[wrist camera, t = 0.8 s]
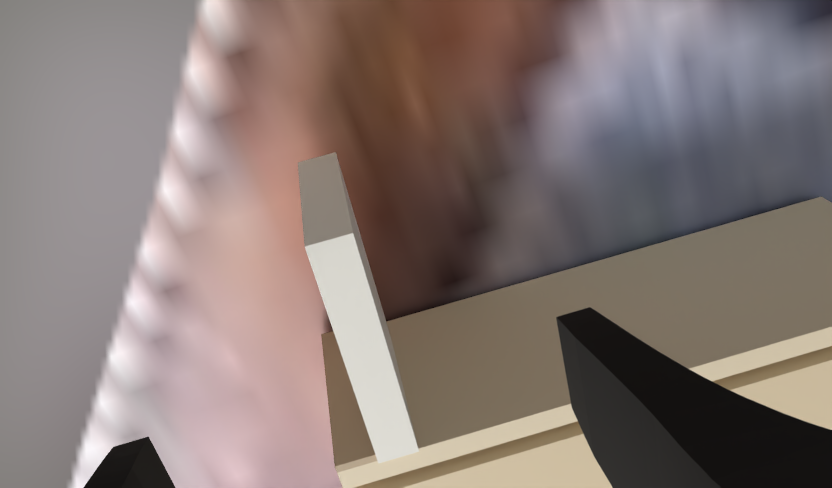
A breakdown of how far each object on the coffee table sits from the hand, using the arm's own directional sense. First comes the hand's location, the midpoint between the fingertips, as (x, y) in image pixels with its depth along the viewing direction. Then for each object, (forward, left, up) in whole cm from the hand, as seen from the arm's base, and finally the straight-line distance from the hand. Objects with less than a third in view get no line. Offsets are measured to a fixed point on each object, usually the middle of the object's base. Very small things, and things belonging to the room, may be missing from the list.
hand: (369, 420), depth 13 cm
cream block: (-7, +1, -9) cm, 11 cm away
